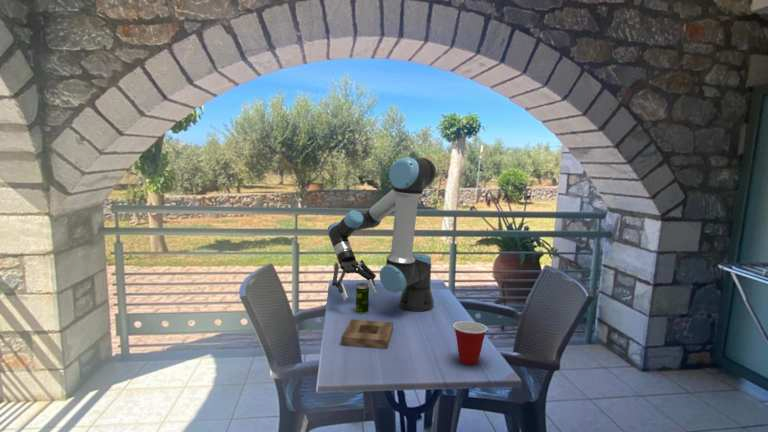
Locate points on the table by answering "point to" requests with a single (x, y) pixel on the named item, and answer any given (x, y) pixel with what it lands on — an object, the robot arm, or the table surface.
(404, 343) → the table surface
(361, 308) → the beer can
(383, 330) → the socket block
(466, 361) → the plastic cup
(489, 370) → the table surface
